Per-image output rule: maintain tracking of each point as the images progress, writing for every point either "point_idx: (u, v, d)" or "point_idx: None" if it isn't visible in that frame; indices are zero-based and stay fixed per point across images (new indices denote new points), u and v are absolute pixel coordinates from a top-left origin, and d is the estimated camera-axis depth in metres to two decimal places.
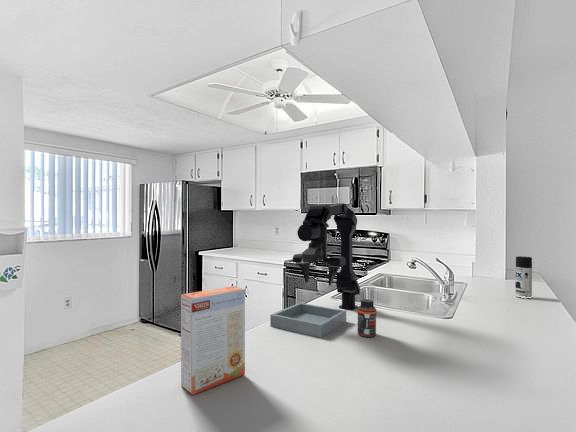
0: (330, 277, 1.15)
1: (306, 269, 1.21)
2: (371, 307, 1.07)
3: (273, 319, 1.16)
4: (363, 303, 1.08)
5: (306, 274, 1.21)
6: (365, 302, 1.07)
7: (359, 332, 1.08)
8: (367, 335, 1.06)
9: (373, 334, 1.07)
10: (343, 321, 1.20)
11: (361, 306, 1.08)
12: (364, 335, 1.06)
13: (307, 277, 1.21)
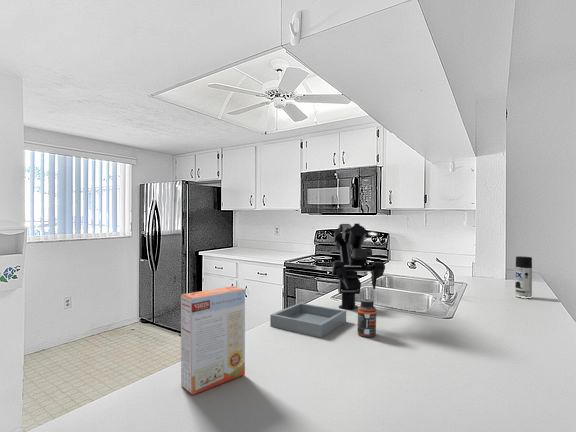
0: (375, 279, 1.18)
1: None
2: (371, 307, 1.07)
3: (273, 319, 1.16)
4: (363, 303, 1.08)
5: None
6: (365, 302, 1.07)
7: (359, 332, 1.08)
8: (367, 335, 1.06)
9: (373, 334, 1.07)
10: (343, 321, 1.20)
11: (361, 306, 1.08)
12: (364, 335, 1.06)
13: None
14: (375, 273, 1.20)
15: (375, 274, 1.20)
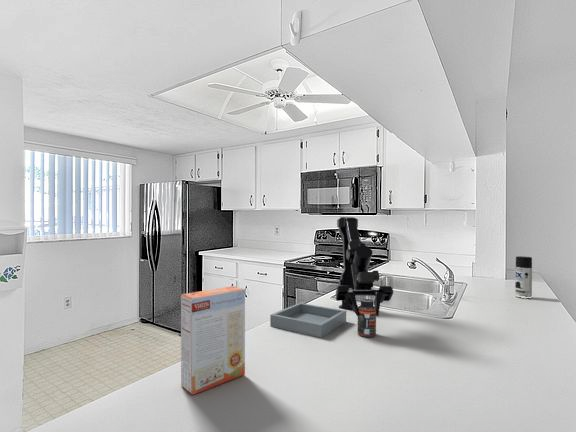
0: (378, 306, 1.09)
1: None
2: (371, 307, 1.07)
3: (273, 319, 1.16)
4: (363, 303, 1.08)
5: None
6: (365, 302, 1.07)
7: (359, 332, 1.08)
8: (367, 335, 1.06)
9: (373, 334, 1.07)
10: (343, 321, 1.20)
11: (361, 306, 1.08)
12: (364, 335, 1.06)
13: None
14: (378, 298, 1.10)
15: (378, 299, 1.10)
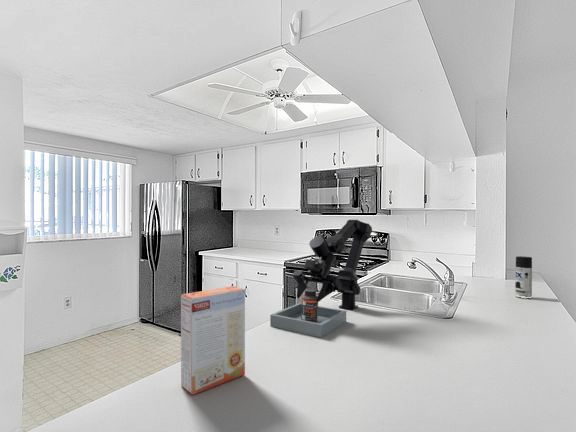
0: (320, 292, 1.17)
1: (302, 286, 1.24)
2: (309, 296, 1.18)
3: (273, 319, 1.16)
4: None
5: (300, 290, 1.23)
6: (305, 291, 1.19)
7: (301, 317, 1.20)
8: None
9: None
10: (343, 321, 1.20)
11: None
12: None
13: (300, 293, 1.22)
14: (323, 286, 1.17)
15: (323, 287, 1.17)
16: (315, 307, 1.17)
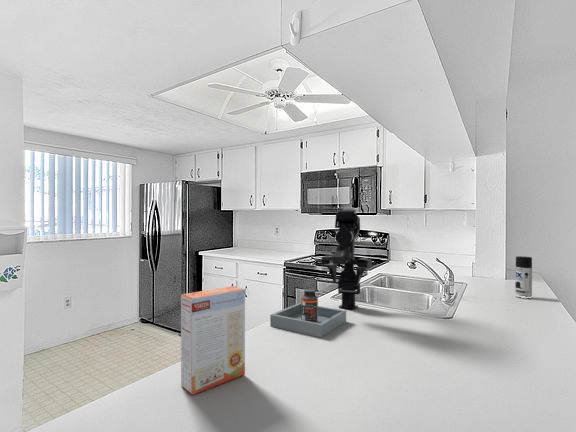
0: (357, 278, 1.23)
1: (334, 270, 1.30)
2: (309, 296, 1.18)
3: (273, 319, 1.16)
4: (304, 291, 1.20)
5: (334, 275, 1.29)
6: (305, 291, 1.19)
7: None
8: None
9: None
10: (343, 321, 1.20)
11: (304, 294, 1.20)
12: None
13: (335, 277, 1.29)
14: (358, 272, 1.23)
15: (358, 272, 1.23)
16: (315, 307, 1.17)
